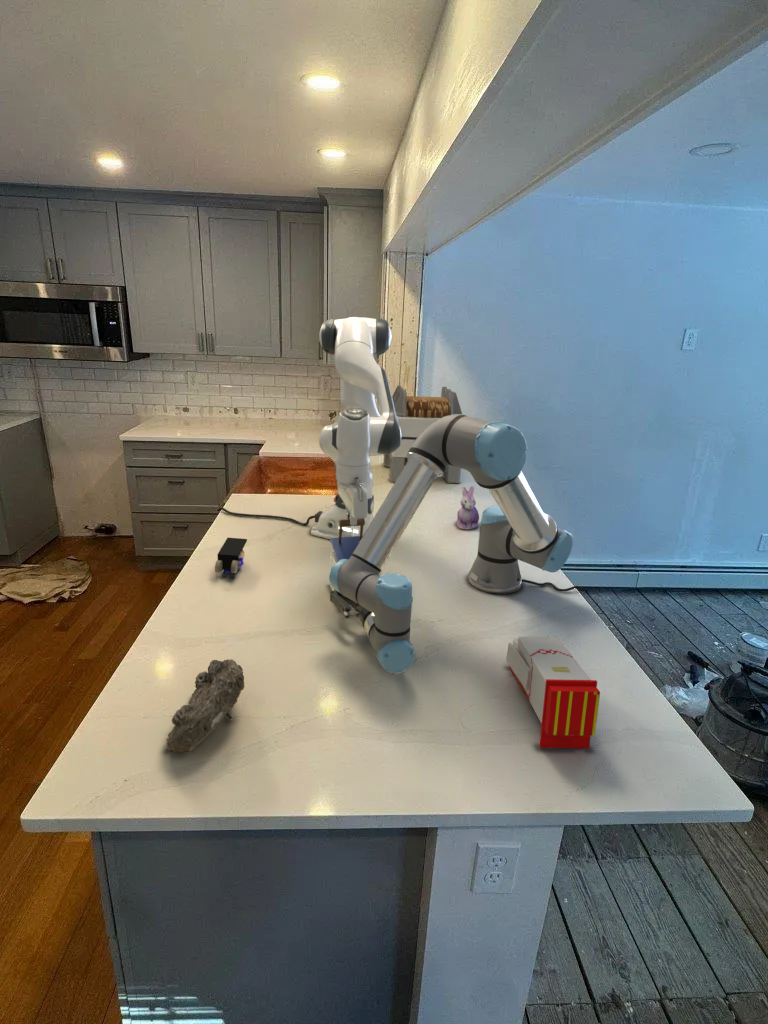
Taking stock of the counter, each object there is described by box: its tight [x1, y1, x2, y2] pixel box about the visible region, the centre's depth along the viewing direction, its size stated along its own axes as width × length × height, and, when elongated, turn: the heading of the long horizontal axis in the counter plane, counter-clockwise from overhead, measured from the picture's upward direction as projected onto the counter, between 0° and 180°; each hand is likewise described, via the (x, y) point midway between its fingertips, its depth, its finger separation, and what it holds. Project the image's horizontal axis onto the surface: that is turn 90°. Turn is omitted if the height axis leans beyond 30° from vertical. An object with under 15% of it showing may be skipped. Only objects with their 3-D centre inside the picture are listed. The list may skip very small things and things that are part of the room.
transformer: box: [383, 384, 463, 484], centre depth 268 cm, size 34×33×41 cm
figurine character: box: [214, 537, 248, 578], centre depth 166 cm, size 7×8×15 cm
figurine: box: [456, 485, 480, 530], centre depth 208 cm, size 9×10×15 cm
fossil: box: [166, 658, 245, 754], centre depth 106 cm, size 22×10×15 cm
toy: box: [505, 636, 601, 749], centre depth 115 cm, size 12×13×30 cm
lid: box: [329, 518, 365, 562], centre depth 149 cm, size 15×10×8 cm, turn 16°
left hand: (351, 522), depth 152 cm, fingers closed, pressing on lid
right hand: (356, 579), depth 150 cm, fingers closed on chest, 10 cm apart
